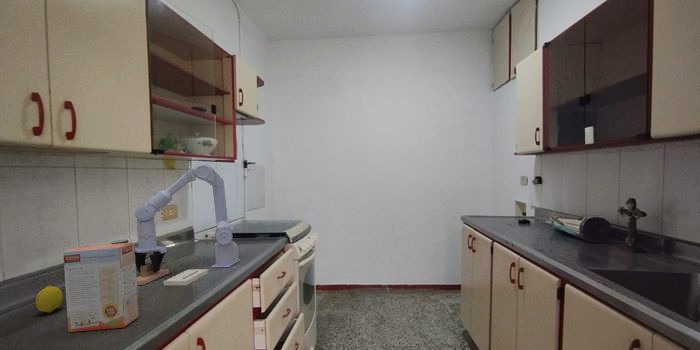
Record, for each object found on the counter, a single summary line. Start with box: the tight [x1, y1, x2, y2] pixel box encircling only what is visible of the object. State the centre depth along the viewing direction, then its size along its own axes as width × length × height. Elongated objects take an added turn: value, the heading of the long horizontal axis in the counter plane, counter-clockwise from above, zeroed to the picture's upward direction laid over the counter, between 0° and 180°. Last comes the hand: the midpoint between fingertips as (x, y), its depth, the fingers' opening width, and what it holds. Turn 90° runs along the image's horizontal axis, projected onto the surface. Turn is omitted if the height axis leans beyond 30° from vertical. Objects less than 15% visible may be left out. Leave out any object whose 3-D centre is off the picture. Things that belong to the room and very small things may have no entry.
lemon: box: [35, 285, 64, 314], centre depth 84 cm, size 6×6×8 cm
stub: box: [136, 262, 170, 286], centre depth 108 cm, size 12×6×6 cm, turn 172°
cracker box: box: [62, 242, 140, 333], centre depth 74 cm, size 14×6×21 cm, turn 92°
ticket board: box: [163, 268, 209, 286], centre depth 106 cm, size 12×9×2 cm
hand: (149, 271), depth 108 cm, fingers open, 6 cm apart
